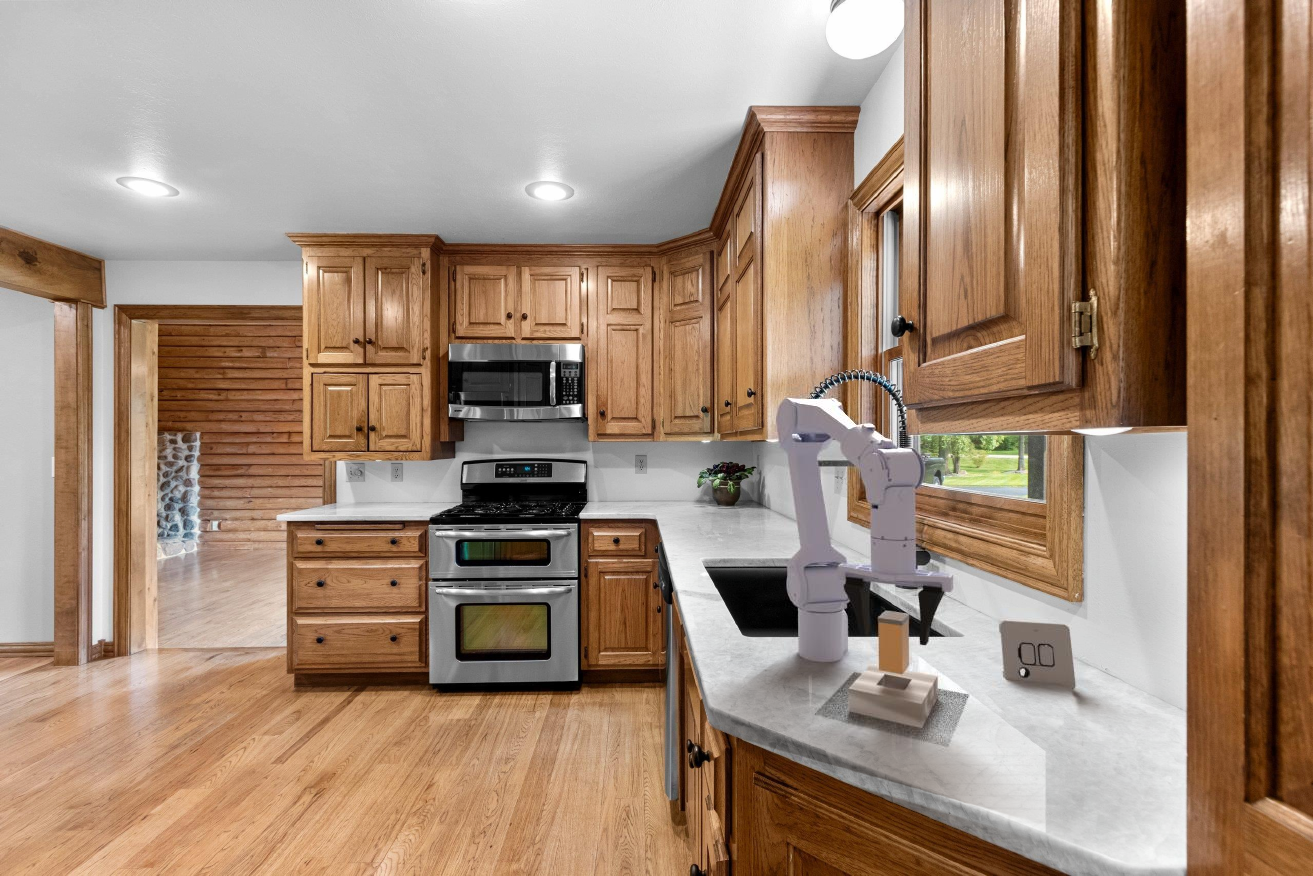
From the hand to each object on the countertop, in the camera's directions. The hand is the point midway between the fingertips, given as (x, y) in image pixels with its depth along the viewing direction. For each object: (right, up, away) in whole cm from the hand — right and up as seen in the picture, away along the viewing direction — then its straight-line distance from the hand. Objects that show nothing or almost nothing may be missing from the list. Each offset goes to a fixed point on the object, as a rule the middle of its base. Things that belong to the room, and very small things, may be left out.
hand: (893, 638), depth 85 cm
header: (0, -10, 0) cm, 10 cm away
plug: (0, -4, 0) cm, 4 cm away
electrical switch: (+25, -10, +10) cm, 29 cm away
